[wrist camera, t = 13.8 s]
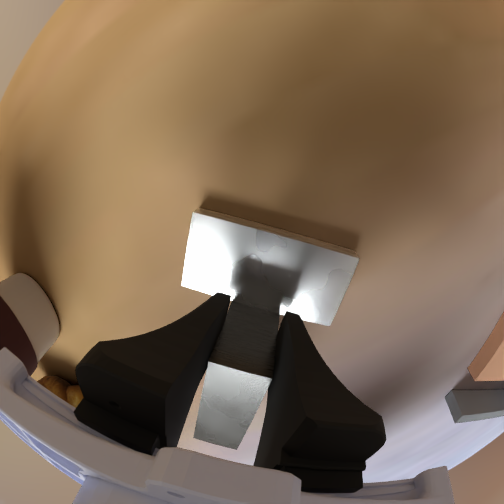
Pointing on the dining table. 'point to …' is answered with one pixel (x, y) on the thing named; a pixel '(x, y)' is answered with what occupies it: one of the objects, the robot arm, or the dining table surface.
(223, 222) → the turner
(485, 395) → the frame
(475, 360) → the tile
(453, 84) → the dining table surface
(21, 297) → the coffee cup
